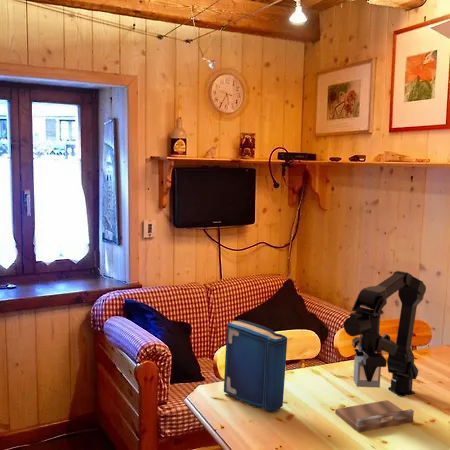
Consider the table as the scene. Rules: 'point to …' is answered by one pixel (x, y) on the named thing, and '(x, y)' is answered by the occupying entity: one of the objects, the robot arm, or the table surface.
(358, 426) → the shelf board
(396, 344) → the robot arm
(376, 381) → the carton
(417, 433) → the table surface
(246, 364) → the book
